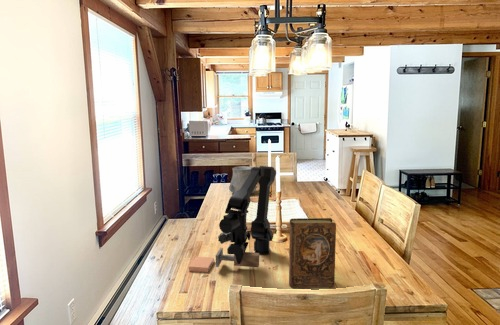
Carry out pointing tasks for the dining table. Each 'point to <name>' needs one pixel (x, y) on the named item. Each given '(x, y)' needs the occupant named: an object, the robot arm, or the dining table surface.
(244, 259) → the scraper
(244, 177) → the vessel
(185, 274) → the dining table surface
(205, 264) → the tile
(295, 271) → the book
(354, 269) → the dining table surface
